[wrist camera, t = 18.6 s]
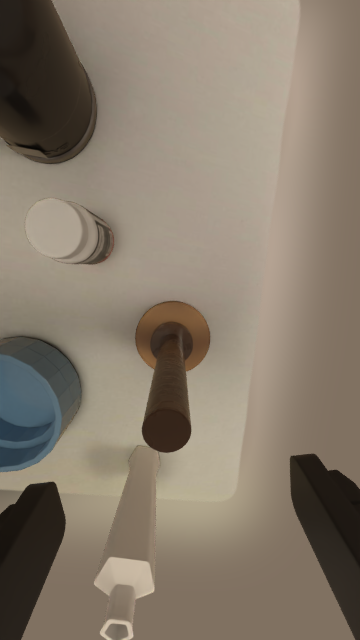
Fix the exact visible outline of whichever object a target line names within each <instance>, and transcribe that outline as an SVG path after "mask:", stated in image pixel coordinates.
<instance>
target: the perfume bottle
mask: <svg viewBox="0 0 360 640" xmlns="http://www.w3.org/2000/svg"><path fill="white" fill-rule="evenodd" d="M159 467H160V460H159V454H158V451H156V450H154V449H152V448H150V447H143V446H137V447H136V449H135V450H134V452H133V454H132V455H131V457H130V459H129V469H130V471H129V474H128V477H127V480H126V483H125V486H124V490H123V493H122V496H121V499H120V502H119V506H118V508H117V512H116V515H115V518H114V521H113V524H112V527H111V530H110V534H109V537H108V540H107V543H106V546H105V549H104V553H103V556H102V559H101V562H100V565H99V568H98V571H97V575H96V578H95V581H94V585H95V586H96V587H98V588H99V589H100V590H102V591H103V592H105V593H106V594H107V595H109V601H108V607H107V611H106V616H105V621H104V626H103V627H102V629H101V630H100V634H101V635H102V636H103V637H104V638H106V639H107V640H129V639H131V638H133V630H132V625H133V617H134V609H135V601H136V599H138V598H140V597H143V596H145V595H148V594H150V593H152V592H154V587H155V586H154V585H155V526H156V525H155V524H156V521H155V520H156V474H157V472H158V469H159Z"/></svg>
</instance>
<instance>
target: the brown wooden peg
mask: <svg viewBox="0 0 360 640" xmlns="http://www.w3.org/2000/svg"><path fill="white" fill-rule="evenodd" d="M150 348H151V351H152V354H153V355H154V357H155V358H156V359H157V360H156V365H155V369H154V374H153V379H152V383H151V388H150V393H149V398H148V402H147V407H146V412H145V416H144V421H143V426H142V435H143V438H144V440H145V442H146V443H147V444H148V445H149V446H150V447H151V448H152V449H154V450H156V451H159V452H165V453H169V452H174V451H177V450H179V449H181V448H182V447H183V446H185V445H186V443H187V442H188V440H189V438H190V436H191V421H190V410H189V400H188V389H187V378H186V367H185V360H186V359H187V358H188V357H189V356H190V354H191V352H192V349H193V340H192V336H191V333H190V331H189V330H188V329H187V328H186V327H185V326H184V325H182V324H180V323H177V322H166V323H163V324H161V325H160V326H158V327H157V328H156V329H155V331H154V332H153V335H152V337H151V341H150Z"/></svg>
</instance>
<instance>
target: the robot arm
mask: <svg viewBox="0 0 360 640" xmlns="http://www.w3.org/2000/svg"><path fill="white" fill-rule="evenodd" d="M96 116H97V105H96V98H95V93H94V90H93V87H92V84H91V82H90V79H89V77H88V75H87V73H86V71H85V69H84V67H83V66H82V64H81V63H80V61H79V59H78V56H77V54H76V52H75V50H74V48H73V45H72V43H71V41H70V39H69V37H68V35H67V33H66V30H65V28H64V26H63V24H62V22H61V20H60V18H59V15H58V13H57V11H56V9H55V7H54V5H53V3H52V1H51V0H0V137H1V138H2V139H4V140H5V141H6V142H7V143H8V144H9V145H7V146H8V147H10V148H11V149H13V150H14V151H15V152H17V153H21V154H22V155H24V156H26V157H27V158H29V159H32V160H34V161H38V162H42V163H58V162H63V161H66V160H68V159H70V158H72V157H74V156H75V155H77V154H78V153H79V152H80V151H81V150H82V149H83V148H84V147H85V146H86V144H87V143H88V141H89V140H90V138H91V136H92V133H93V131H94V127H95V123H96ZM290 480H291V497H292V502H293V506H294V509H295V512H296V514H297V517H298V519H299V521H300V523H301V525H302V527H303V529H304V532H305V534H306V536H307V538H308V540H309V542H310V544H311V546H312V548H313V551H314V553H315V555H316V557H317V559H318V561H319V563H320V565H321V568H322V570H323V572H324V574H325V576H326V578H327V580H328V583H329V585H330V587H331V589H332V591H333V593H334V595H335V597H336V600H337V601H338V604H339V606H340V607H341V610H342V612H343V614H344V616H345V619H346V620H347V623H348V625H349V627H350V629H351V631H352V633H353V636H354V638H355V640H360V489H359V488H358V487H357V485H356V484H355V483H354V482H353V481H351V480H350V479H349V478H347V477H346V476H345V475H343V474H342V473H340V472H339V471H338V470H330V471H328V470H327V469H326V468H325V466H324V465H323V463H322V462H321V461H320V459H319V458H318V457H317V456H316V455H315V454H305V455H296V456H291V457H290ZM65 521H66V520H65V514H64V511H63V507H62V504H61V500H60V496H59V493H58V489H57V486H56V484H55V483H54V482H46V483H37V484H30V485H29V486H27V487H26V489H25V490H24V491H23V493H22V494H21V496H20V497H19V499H18V501H17V502H16V503H15V504H12V505H10V506H9V507H8V508H6V510H4V511H3V512H2V513H1V514H0V640H21V638H22V635H23V633H24V631H25V629H26V626H27V624H28V621H29V619H30V617H31V614H32V611H33V609H34V607H35V605H36V602H37V600H38V597H39V595H40V593H41V590H42V588H43V585H44V583H45V580H46V578H47V576H48V573H49V571H50V568H51V566H52V563H53V561H54V559H55V556H56V554H57V551H58V549H59V547H60V544H61V542H62V539H63V536H64V532H65V524H66V522H65Z"/></svg>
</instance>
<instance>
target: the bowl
mask: <svg viewBox="0 0 360 640" xmlns="http://www.w3.org/2000/svg"><path fill="white" fill-rule="evenodd" d="M80 398H81V388H80V383H79V378H78V375H77V373H76V371H75V370H74V368H73V366H72V365H71V363H70V361H69V360H68V359H67V358H66V357H65V356H63V355H62V354H61V353H60V352H59V351H58V350H57V349H56V348H54V347H52V346H50V345H48V344H46V343H44V342H42V341H40V340H36V339H31V338H25V337H14V338H5V339H1V340H0V472H8V471H18V470H22V469H25V468H27V467H29V466H32V465H34V464H36V463H38V462H40V461H41V460H42V459H43V458H44V457H45V456H46V455H48V454H49V453H50V452H51V451H52V450H53V448H54V447H55V445H56V444H57V442H58V441H59V439H60V438H61V436H62V435H63V433H64V432H65V430H66V429H67V427H68V426H69V424H70V423H71V422H72V420H73V418H74V416H75V414H76V413H77V411H78V409H79V405H80Z"/></svg>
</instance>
